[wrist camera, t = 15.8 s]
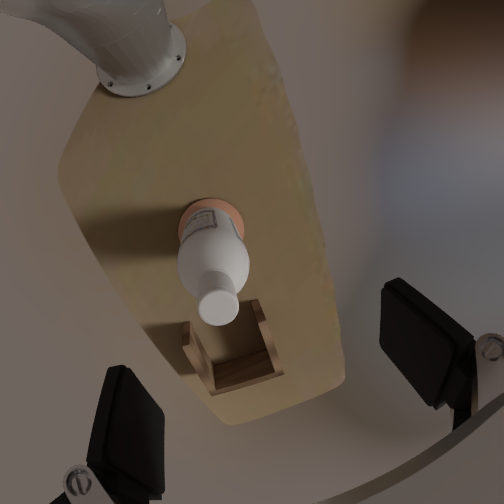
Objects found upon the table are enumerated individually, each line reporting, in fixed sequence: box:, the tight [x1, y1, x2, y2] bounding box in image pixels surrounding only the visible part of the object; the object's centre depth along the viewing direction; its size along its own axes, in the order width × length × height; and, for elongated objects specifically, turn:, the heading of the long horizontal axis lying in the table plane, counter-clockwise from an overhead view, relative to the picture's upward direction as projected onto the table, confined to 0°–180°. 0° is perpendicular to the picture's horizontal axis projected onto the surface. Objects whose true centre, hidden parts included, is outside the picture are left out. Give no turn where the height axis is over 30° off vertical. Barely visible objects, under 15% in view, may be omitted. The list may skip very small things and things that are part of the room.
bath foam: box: [177, 207, 249, 326], centre depth 28 cm, size 7×7×20 cm
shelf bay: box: [182, 299, 284, 396], centre depth 42 cm, size 12×12×6 cm
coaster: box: [178, 198, 244, 243], centre depth 37 cm, size 9×9×1 cm
